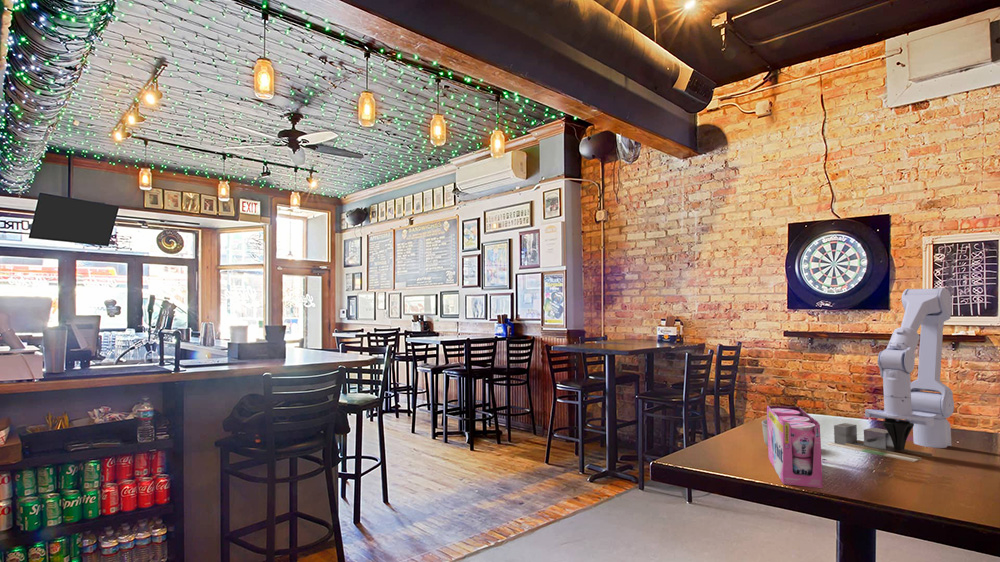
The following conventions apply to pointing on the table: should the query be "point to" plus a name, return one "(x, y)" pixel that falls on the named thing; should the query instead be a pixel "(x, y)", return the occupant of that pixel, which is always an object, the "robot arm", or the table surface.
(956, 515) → the table surface
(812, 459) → the gum box
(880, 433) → the gauge carriage
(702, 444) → the table surface
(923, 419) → the robot arm
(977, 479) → the table surface
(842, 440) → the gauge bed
